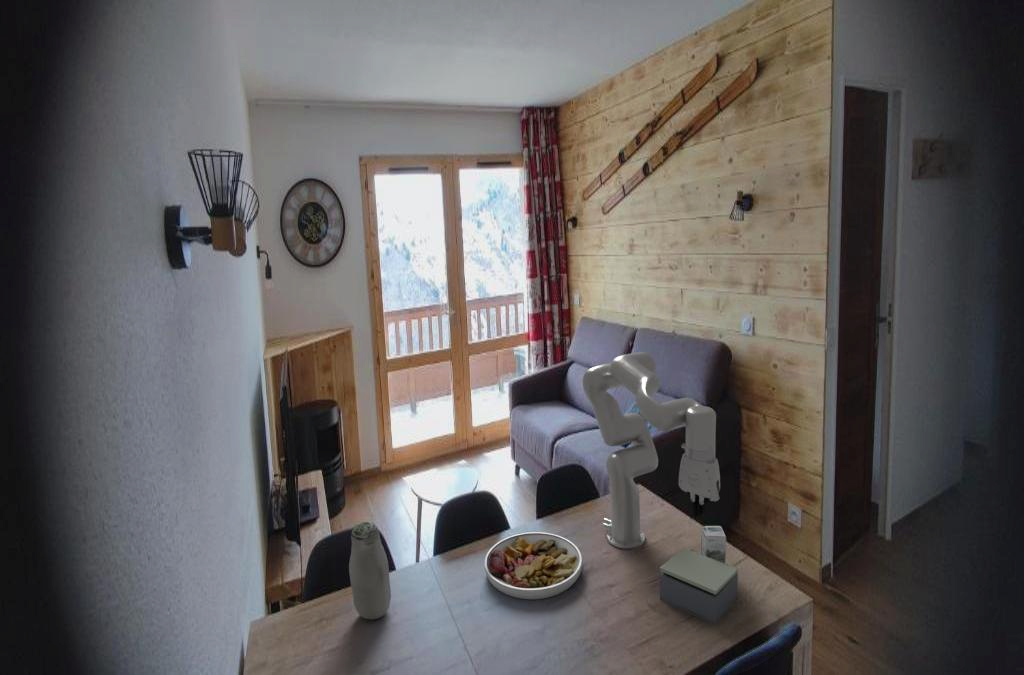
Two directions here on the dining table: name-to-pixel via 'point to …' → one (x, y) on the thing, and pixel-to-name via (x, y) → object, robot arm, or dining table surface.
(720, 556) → the syrup box
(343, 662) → the dining table surface
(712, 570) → the lid
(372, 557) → the grey rounded cylinder
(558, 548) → the bowl
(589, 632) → the dining table surface
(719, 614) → the storage box
